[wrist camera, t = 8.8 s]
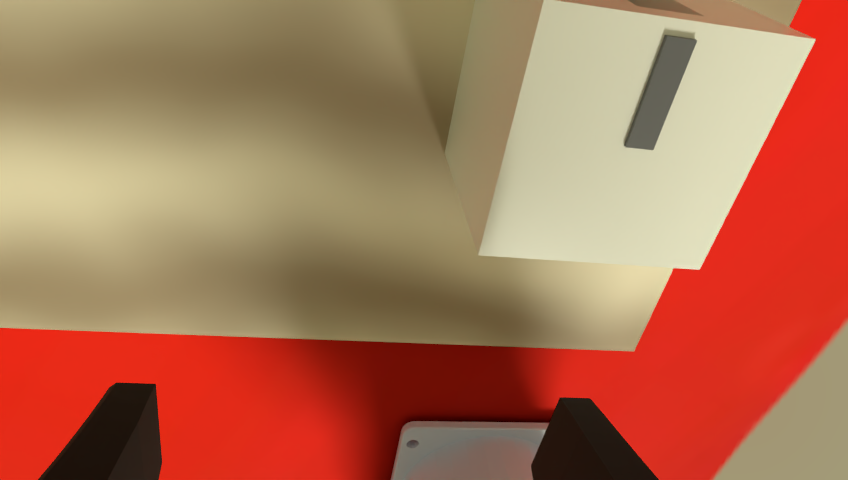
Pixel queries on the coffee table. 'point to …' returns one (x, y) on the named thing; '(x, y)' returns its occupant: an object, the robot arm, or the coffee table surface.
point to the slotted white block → (613, 124)
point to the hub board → (267, 180)
